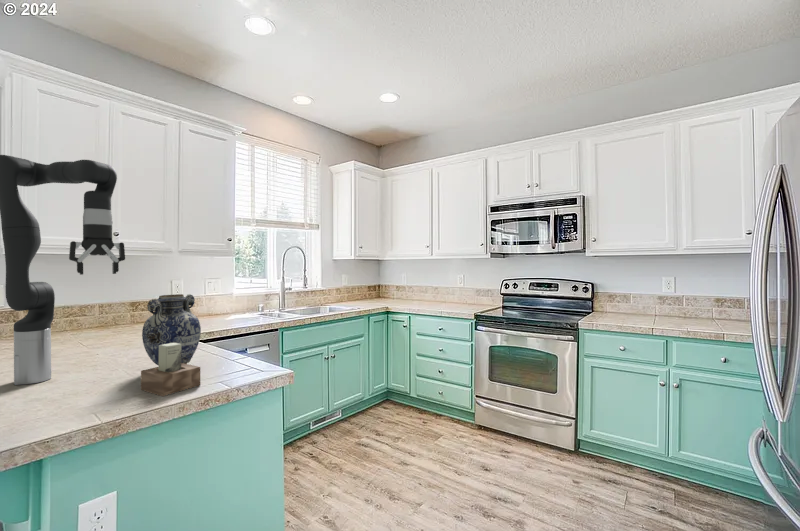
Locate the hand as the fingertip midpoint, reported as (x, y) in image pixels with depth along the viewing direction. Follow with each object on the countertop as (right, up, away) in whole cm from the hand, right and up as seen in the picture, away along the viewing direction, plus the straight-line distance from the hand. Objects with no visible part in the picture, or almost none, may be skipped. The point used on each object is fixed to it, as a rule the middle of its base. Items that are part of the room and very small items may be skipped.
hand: (98, 274), depth 128 cm
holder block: (+25, -36, -2) cm, 44 cm away
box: (+24, -35, -2) cm, 43 cm away
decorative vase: (+14, -36, +17) cm, 42 cm away
